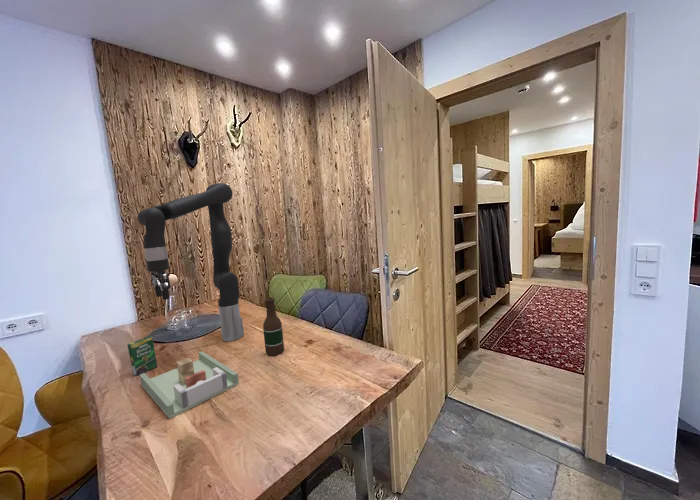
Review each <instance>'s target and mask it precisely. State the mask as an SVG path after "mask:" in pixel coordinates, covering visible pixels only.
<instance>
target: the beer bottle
mask: <svg viewBox="0 0 700 500" xmlns="http://www.w3.org/2000/svg"><path fill="white" fill-rule="evenodd" d="M265 303H266V318H265V320H264V321H263V325H262V327H263V329H262V330H263V340H264V350H265V353H266V354H265V355H267V356H268V357H276V356H279V355H282V354H283V353H284V350H285V343H284V335H283V334H284V333H283V325H282V321H281V320H280V319H281V318H279V316H278V315H277V312H276V306H275V298H274V297H266V299H265Z"/></svg>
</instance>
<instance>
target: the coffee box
mask: <svg viewBox="0 0 700 500" xmlns="http://www.w3.org/2000/svg"><path fill="white" fill-rule="evenodd" d="M127 349H128V355H129V360H130V364H131V371H132V375H133V376H136V377H139V376H140V374H143V373H145V374H146V373H147V372H149V371H152V370H154V369H155V368H157V367H158V361H157V356H156V352H155V351H156V350H155V344H154V339H153V336H150V335H149V336H145V337H143V338H140V339H138V340H136V341H132V342H130V343H127Z"/></svg>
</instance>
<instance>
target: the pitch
mask: <svg viewBox="0 0 700 500" xmlns="http://www.w3.org/2000/svg"><path fill="white" fill-rule="evenodd" d="M193 366H194V374H195V373H197V372H199V371H202V370H204V371H205V373H206V380H207V379H209V378H211V377H213V368H216V367H217V368H219V369H221V370H222V371H224V372H225V373H226V378H227V386H228V387H226V388H224V389H222V390H220V391H218V392H216V393H214V394H212V395H210V396H208V397H206V398H204V399H202V400H200V401H198V402H196V403H194V404H192V405H190V406H188V407H186V408H184V409H183V408H182V407H181V406H180V405H179V404H178V402H177V401H176V400H175V394H174V388H173V386H174V385H176V384H179V385H181V386H182V387H183V388H184V389H186V383H185V384H182V383H181V382H180V381H179V376H178V369H177V368H174V369H171V370H169V371H166V372H163V373H162V374H159V375H157V376H154V377H151V378H150V377H149V376H148V375H147V374H146V372H145V373H143V374H140V375H139V380H140V386H142V388H143V389H144V390H145V391H146V392H147V394H148V395H149V397H150V398H151V399H152V400H153V401H154V402H155V403H156V405H157V406H158V407H159V409H161V411H162V412H163V413H164V415H165V416H166V417H167V418H168V419H169V420H170V419H172V418H174V417H177V416H178V415H180V414H182V413H184V412H187V411H188V410H190V409H192V408H194V407H196V406H198V405H200V404H202V403H204V402H206V401H208V400H210V399H212V398H214V397H215V396H218V395H220V394H223V393H224V392H225V391H226V392H227V391H228V390H230V389H231V388H234V387H236V386H238V385H240V382H239V374H238V372H236V371H235V370H233V369H231V368H230V367H228V366H226V365H225V364H223V362H222V363H221V362H220V361H219V360H217V359H215V358H214V357H212V356H211V355H209V354H207V353H206V352H204V351H203V350H202V351H198V359H197V360H195V361H194V360H193Z"/></svg>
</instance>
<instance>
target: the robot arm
mask: <svg viewBox="0 0 700 500" xmlns="http://www.w3.org/2000/svg"><path fill="white" fill-rule="evenodd" d="M232 198H233V189H232V188H231V187H230V185H228V184H226V183H224V182H223V183H222V182H220V183H219V182H218V183H215V184H210V185H208V186H207V187H206V190H205V191H202V192H199V193H195V194H192V195H187V196H183V197H180V198H177V199H174V200H170V201H167V202H165V203H162V204H160V205H155V206H151V207H148V208H145V209H142V210H140V211H139V212H138V213H137V220H138V222H139V223H140V224H141V225H142V226H145V233H144V234H143V243H144V244H143V245H144V257H145V263H146V265H145V266H146V269H147V270H146V271H147V272H149V273H150V278H151V286H152V287H153V288H154V292H155V297H156V298H160V297H161V298H162V300H164V301H167V300H169V299H170V289H171V284H170V282H171V281H170V277H169V273H166V270H169V269H170V263H169V254H168V249H167V245H166V238H165V232H166V221H167V220H174V219H177V218H180V217H183V216H185V215H188V214H191V213H193V212H195V211H198V210H200V209H203V208H206V207H207V210H208V216H209V229H210V242H211V243H210V244H211V249H212V250H211V251H212V259H213V275H212V277H213V278H212V280H213V281H212V282H213V285H214V287H215V288H216V289H217V290H219V299H218V300H217V304H218V305H217V306H218V311H219V312H218V314H219V321H220V322H219V323H220V331H221V339H222V341H223V342H234V341H237V340H239V339H241V338H242V337H244V336H245V332H244V324H243V323H244V322H243V317H242V316H241V314H240V313H241V311H240V305H239V304H240V303H239V302H240V301H239V299H240V286H239V279H238V277H237V275H236V274H235V273H233V272H231V269H230V255H231V253H232V252H231V251H232V247H233V236H232V235H233V234H232V229H231V227H230V224H229V222H228V220H227V218H226V216H225V212H224V204H226V203H228V202H229V201H230V200H231V199H232Z"/></svg>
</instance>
